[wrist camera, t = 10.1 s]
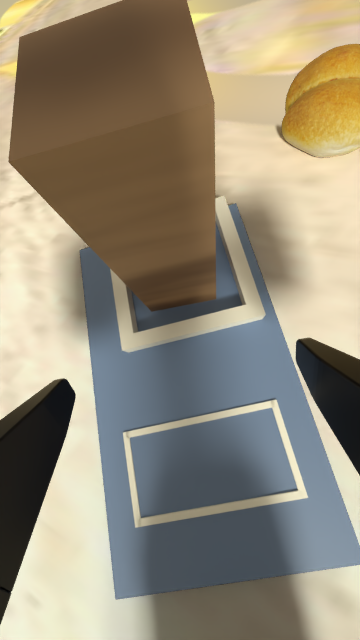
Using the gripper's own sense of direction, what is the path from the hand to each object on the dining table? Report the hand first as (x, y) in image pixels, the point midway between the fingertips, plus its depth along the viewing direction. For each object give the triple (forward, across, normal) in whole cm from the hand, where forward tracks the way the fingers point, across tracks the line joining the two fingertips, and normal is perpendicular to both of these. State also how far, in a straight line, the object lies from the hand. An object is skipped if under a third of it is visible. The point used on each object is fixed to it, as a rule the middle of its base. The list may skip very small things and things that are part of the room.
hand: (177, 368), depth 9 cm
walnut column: (+10, 0, 0) cm, 11 cm away
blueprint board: (+6, 0, +5) cm, 8 cm away
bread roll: (+20, -16, -8) cm, 27 cm away
